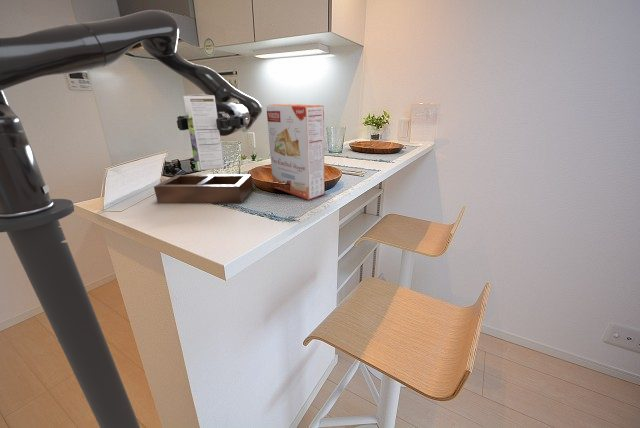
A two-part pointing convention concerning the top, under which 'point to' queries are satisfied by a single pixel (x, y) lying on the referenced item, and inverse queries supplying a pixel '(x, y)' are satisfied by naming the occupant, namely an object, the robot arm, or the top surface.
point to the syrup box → (204, 131)
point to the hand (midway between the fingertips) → (199, 124)
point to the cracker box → (297, 148)
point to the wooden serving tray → (204, 189)
